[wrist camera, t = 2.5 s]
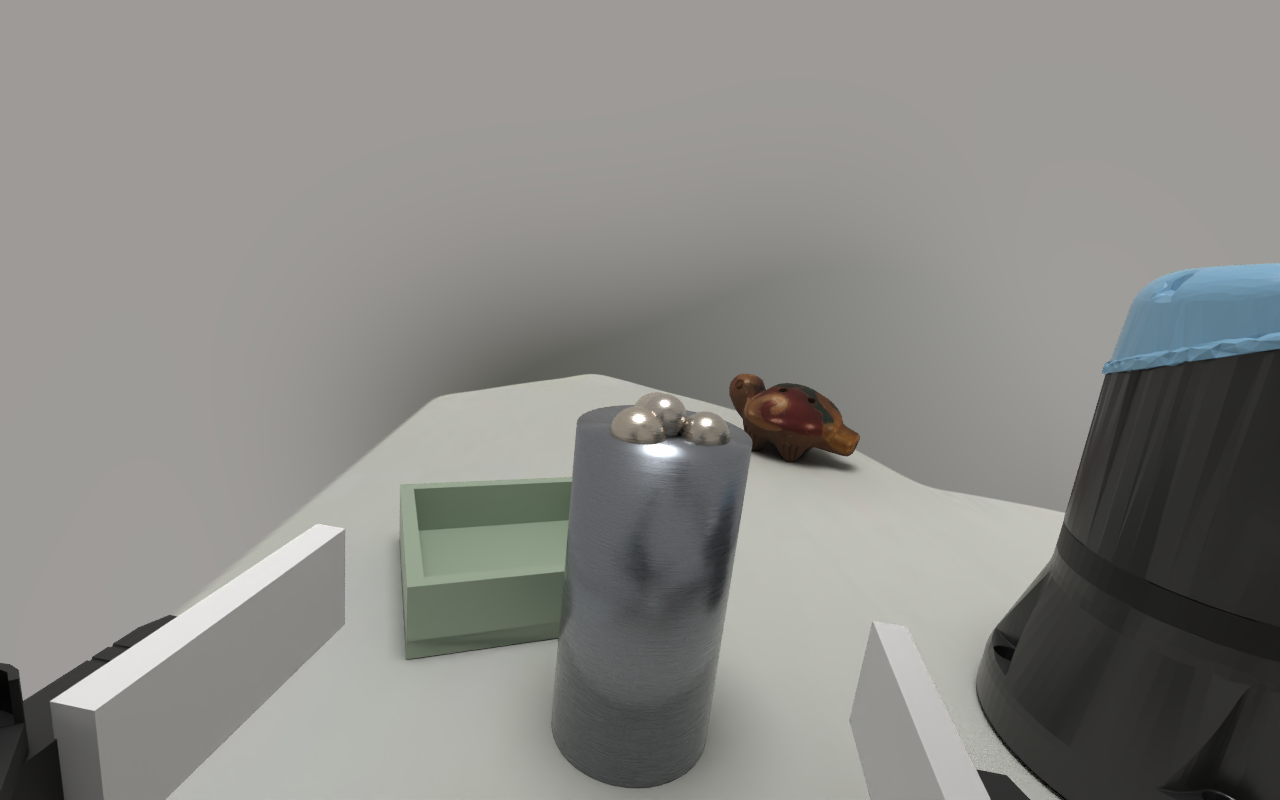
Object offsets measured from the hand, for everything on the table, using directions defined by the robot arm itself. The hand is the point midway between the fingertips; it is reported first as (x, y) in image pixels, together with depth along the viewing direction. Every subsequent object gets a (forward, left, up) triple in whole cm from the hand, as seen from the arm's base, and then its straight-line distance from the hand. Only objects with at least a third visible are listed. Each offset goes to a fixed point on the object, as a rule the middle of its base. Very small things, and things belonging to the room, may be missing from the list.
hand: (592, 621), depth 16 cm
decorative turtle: (-37, -42, -12) cm, 57 cm away
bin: (-3, -22, -12) cm, 25 cm away
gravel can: (-6, -9, -12) cm, 16 cm away
